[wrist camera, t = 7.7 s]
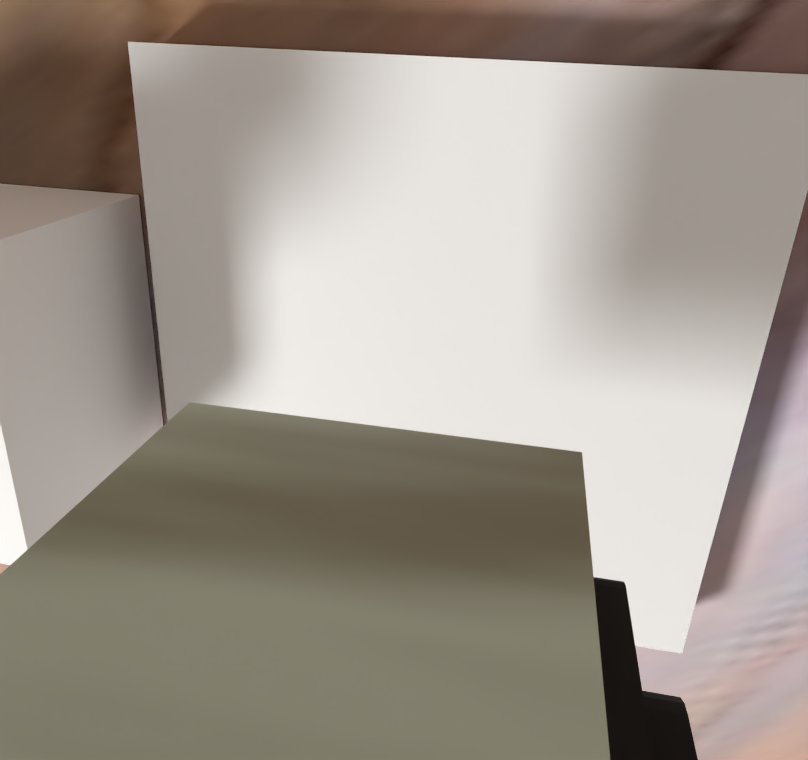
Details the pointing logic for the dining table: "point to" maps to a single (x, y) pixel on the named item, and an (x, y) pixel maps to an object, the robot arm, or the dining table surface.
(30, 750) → the block
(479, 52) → the dining table surface
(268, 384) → the press bed
